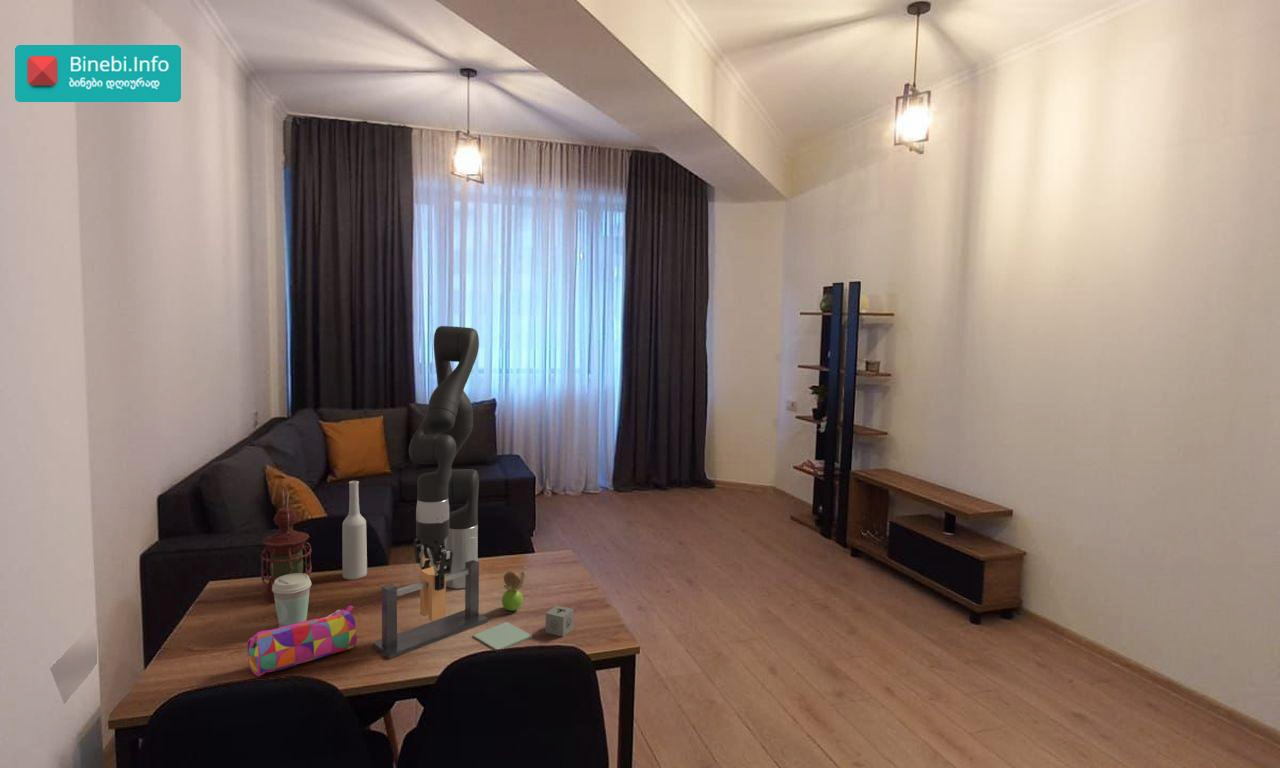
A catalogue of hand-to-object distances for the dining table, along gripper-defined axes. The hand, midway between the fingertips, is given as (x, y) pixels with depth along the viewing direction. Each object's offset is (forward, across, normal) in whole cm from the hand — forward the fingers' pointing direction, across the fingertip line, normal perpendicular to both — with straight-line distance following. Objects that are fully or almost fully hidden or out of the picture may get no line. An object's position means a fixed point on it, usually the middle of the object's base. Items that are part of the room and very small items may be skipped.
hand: (432, 585), depth 158 cm
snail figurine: (+12, +3, +22) cm, 25 cm away
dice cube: (+12, +20, +23) cm, 33 cm away
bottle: (+12, -48, +3) cm, 50 cm away
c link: (+7, 0, 0) cm, 7 cm away
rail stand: (+12, 0, 0) cm, 12 cm away
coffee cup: (+12, -27, -22) cm, 37 cm away
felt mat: (+12, +13, +11) cm, 21 cm away
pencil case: (+12, -9, -26) cm, 30 cm away
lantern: (+12, -47, -16) cm, 51 cm away
